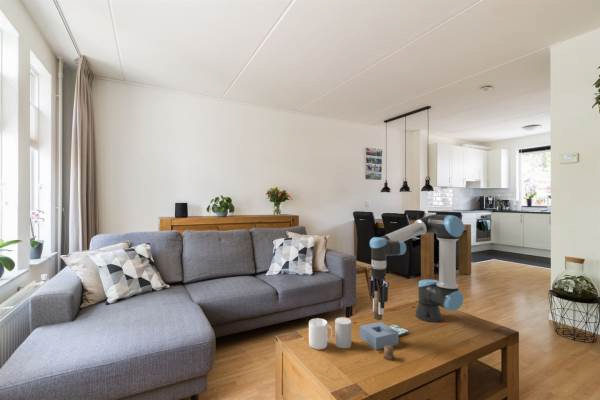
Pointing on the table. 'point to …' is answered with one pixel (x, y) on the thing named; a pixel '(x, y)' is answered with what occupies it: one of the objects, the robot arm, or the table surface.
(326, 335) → the mug
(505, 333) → the table surface
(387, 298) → the robot arm
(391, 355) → the short dowel
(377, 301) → the long dowel
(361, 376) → the table surface
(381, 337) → the socket block
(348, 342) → the cup
